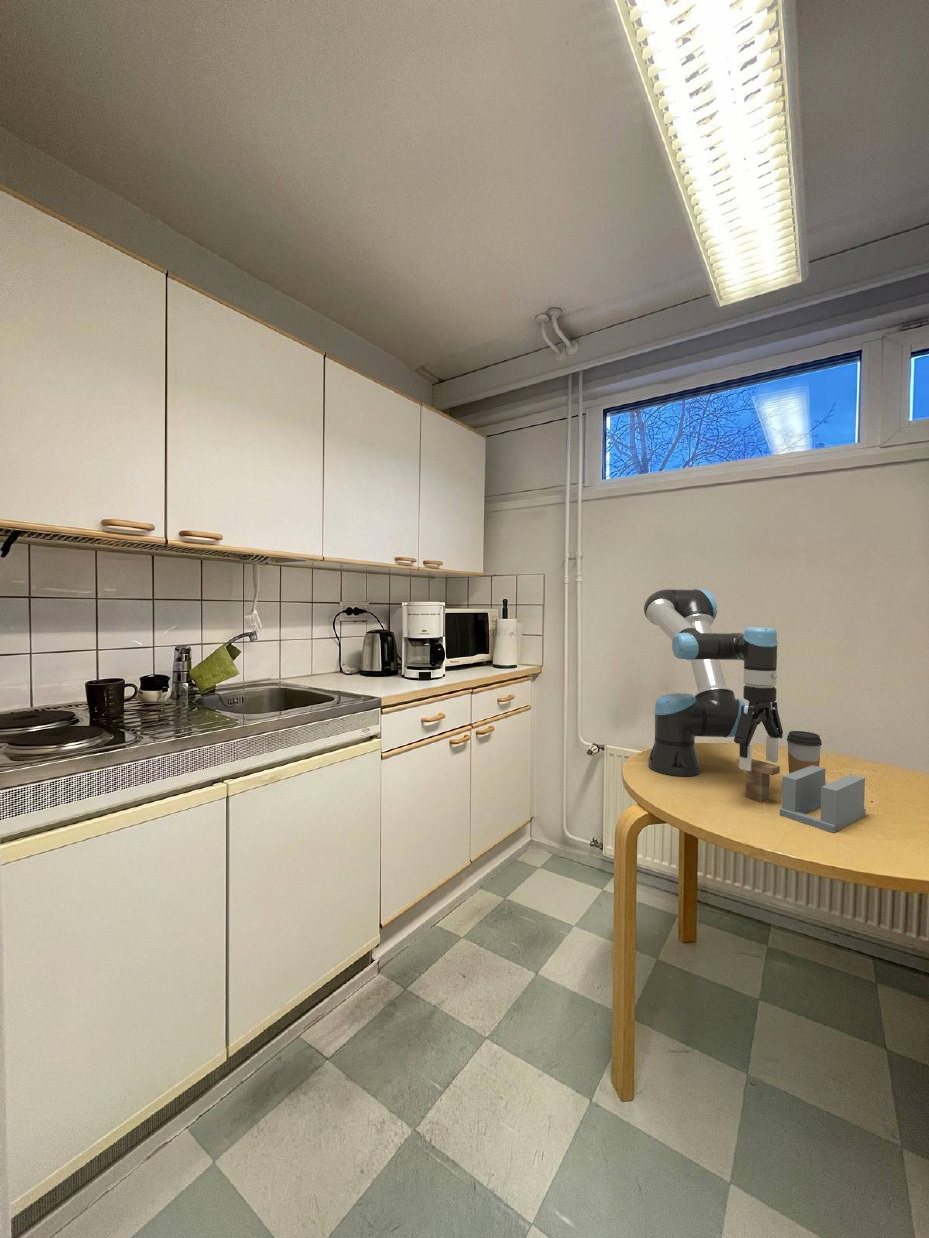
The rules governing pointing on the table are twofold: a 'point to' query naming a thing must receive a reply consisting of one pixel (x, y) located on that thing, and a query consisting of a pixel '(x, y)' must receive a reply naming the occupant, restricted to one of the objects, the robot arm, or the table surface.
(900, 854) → the table surface
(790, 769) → the coffee cup
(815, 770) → the slot stand
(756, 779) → the wooden t-shaped block
